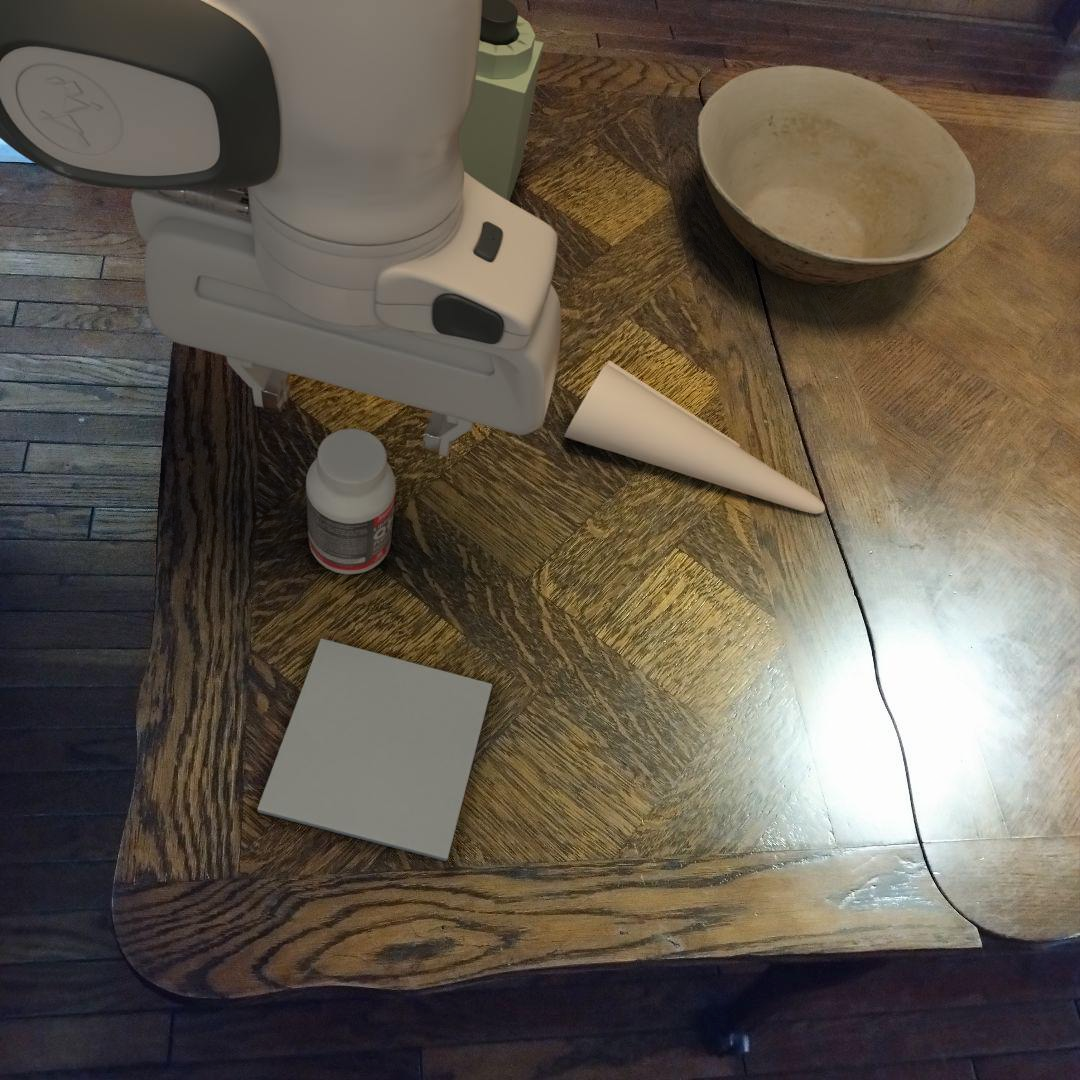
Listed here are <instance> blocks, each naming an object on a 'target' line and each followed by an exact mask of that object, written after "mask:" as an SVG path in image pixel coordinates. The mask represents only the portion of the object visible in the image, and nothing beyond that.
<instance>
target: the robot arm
mask: <svg viewBox="0 0 1080 1080" xmlns="http://www.w3.org/2000/svg"><path fill="white" fill-rule="evenodd" d="M481 14H482V0H0V139H1V140H2V141H3V142H4V143H5V144H7V146H9V147H10V148H11V149H13V150H14V151H16V152H17V153H18V154H20V155H21V156H23V157H24V158H25V159H27V160H29V161H31V162H32V163H34V164H36V165H37V166H39V167H41V168H43V169H45V170H47V171H49V172H51V173H53V174H55V175H57V176H62V177H63V178H67V179H69V180H71V181H75V182H78V183H83V184H87V185H91V186H97V187H101V188H110V189H123V190H132V192H131V198H130V202H131V203H130V204H131V209H132V213H133V218H134V222H135V226H136V229H137V231H138V233H139V235H140V236H141V238H142V239H143V240H144V241H145V242H146V246H145V250H144V268H143V269H144V289H145V300H146V306H147V307H146V308H147V314H148V318H149V321H150V322H151V324H152V325H153V326H154V327H155V329H156V330H158V331H159V333H160V334H162V335H163V336H164V337H165V338H166V339H167V340H169V341H171V342H173V343H176V344H180V345H183V346H186V347H190V348H195V349H199V350H202V351H206V352H209V353H213V354H216V355H220V356H224V357H226V362H227V364H228V366H230V368H231V369H232V370H233V371H234V372H235V373H236V375H238V376H239V377H240V378H241V379H242V381H243V382H245V384H246V385H247V386H248V387H249V388H251V390H252V398H253V404H254V406H255V407H259V408H264V409H268V410H272V411H276V412H279V413H282V412H283V410H284V409H285V403H286V402H287V401H289V397H290V394H291V389H292V384H291V383H290V381H291V375H295V376H298V377H303V378H306V379H309V380H313V381H317V382H322V383H325V384H329V385H331V386H336V387H340V388H344V389H347V390H351V391H355V392H359V393H361V394H366V395H370V396H373V397H376V398H380V399H383V400H388V401H391V402H395V403H399V404H401V405H402V404H403V405H406V406H410V407H414V408H417V409H421V410H425V411H429V412H430V415H429V417H428V423H427V424H426V426H425V429H424V432H423V437H422V442H423V443H422V447H421V450H422V451H424V452H428V453H432V454H435V455H437V456H442V457H446V458H448V457H449V455H450V453H451V449H452V447H453V443H454V441H455V440H457V439H458V438H460V437H462V436H463V435H464V434H466V433H467V432H470V431H471V430H473V427H474V424H478V425H480V426H483V427H484V426H485V427H489V428H492V429H496V430H499V431H503V432H505V433H510V434H513V435H516V436H517V435H518V436H525V435H528V434H531V433H533V432H535V431H537V430H539V429H541V428H542V427H543V425H544V422H545V418H546V415H547V411H548V408H549V406H550V401H551V397H552V392H553V389H554V384H555V379H556V375H557V371H558V370H557V369H558V365H559V359H560V358H559V357H560V351H561V350H560V349H561V338H562V308H561V302H560V298H559V296H558V293H557V291H556V289H555V287H554V286H553V284H552V282H553V278H554V273H555V266H556V259H557V253H558V252H557V251H558V240H559V239H558V234H557V232H556V231H555V229H554V228H553V227H552V226H551V225H549V224H548V223H547V222H545V221H544V220H542V219H541V218H539V217H537V216H536V215H534V214H532V213H531V212H528V211H527V210H525V209H523V208H522V207H520V206H518V205H516V204H515V203H513V202H511V201H508V200H506V199H504V198H503V197H501V196H499V195H498V194H496V193H495V192H493V191H492V190H490V189H489V188H487V187H485V186H484V185H483V184H481V183H480V182H478V181H477V180H475V179H474V178H472V177H471V176H470V175H468V174H467V173H466V172H464V164H463V158H462V154H461V150H460V145H459V134H460V129H461V126H462V124H463V122H464V120H465V118H466V116H467V114H468V111H469V109H470V106H471V103H472V99H473V95H474V89H475V81H476V71H477V62H478V53H479V41H480V30H481ZM238 189H247V192H245V191H241V190H238Z"/></svg>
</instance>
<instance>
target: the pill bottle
mask: <svg viewBox="0 0 1080 1080" xmlns="http://www.w3.org/2000/svg"><path fill="white" fill-rule="evenodd" d="M387 456H388V455H387V449H386V448H385V446H384V443H382V441H381V440H380V439H379V438H378V437H377V436H376V435H374V434H372V433H371V432H369V431H367V430H363V429H358V428H343V429H339V430H336V431H333V432H332V433H330V434H328V435H327V436H326V437H325V438H324V439H323V440H322V441H321V443H320V444H319V447H318V450H317V456H316V458H315V460H313V462H311V465H310V466H309V468H308V471H307V473H306V478H305V493H306V494H305V495H306V511H307V512H306V518H307V529H308V530H307V537H308V544H309V547H310V548H309V549H310V551H311V554H312V555H313V557H314V558H315V559H316V561H317V562H318V563H319V564H320V565H322V566H323V567H324V568H325V569H327V570H330V571H332V572H334V573H337V574H343V575H358V574H362V573H366V572H369V571H370V570H373V569H374V568H375V567H377V566H378V565H379V564H380V563H382V561H384V559H385V558H386V557H387V555H388V553H389V550H390V548H391V541H392V535H393V534H392V532H393V524H394V523H393V521H394V512H395V511H394V510H395V497H396V491H397V485H396V478H395V474H394V472H393V469H392V467H391V466H390V464H389V463H388V459H387V458H388V457H387Z"/></svg>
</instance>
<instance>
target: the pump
mask: <svg viewBox="0 0 1080 1080" xmlns="http://www.w3.org/2000/svg"><path fill="white" fill-rule="evenodd" d="M518 15H519V10H518V8H517V6H516V5H515V4H514V3H513V2H511V1H509V0H482V14H481V30H480V41H482V42H485V43H489V44H492V45H509V44H511V43H513V41H514V39H515V33H516V27H517V20H518Z"/></svg>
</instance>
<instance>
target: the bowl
mask: <svg viewBox="0 0 1080 1080" xmlns="http://www.w3.org/2000/svg"><path fill="white" fill-rule="evenodd" d="M695 130H696V131H695V135H696V136H695V140H696V151H697V152H696V153H697V157H698V163H699V167H700V170H701V173H702V176H703V179H704V182H705V185H706V188H707V191H708V193H709V195H710V198H711V199H712V202H713V204H714V207H715V209H716V210H717V213H718V214H719V216H720V218H721V219H722V221H723V223H724V224H725V225H726V227H727V228H728V230H729V232H730V233H731V234H732V235H733V236H734V237H735V239H736V241H738V242H739V244H740V245H741V246H742V248H744V250H745V251H746V252H747V253H748V254H749V255H750V256H751V257H752V258H753V259H754V260H756V261H757V263H758V262H759V263H760V264H761V266H764V267H765V268H766V269H768V270H769V271H771V272H773V273H774V274H776V275H779V276H780V277H782V278H784V279H787V280H789V281H793V282H797V283H800V284H803V285H808V286H841V285H851V284H858V283H861V282H864V281H867V280H869V279H872V280H874V279H878V278H881V277H883V276H887V275H890V274H892V273H893V274H894V273H896V272H899V271H902V270H905V269H908V268H910V267H914V266H915V265H918V264H921V263H923V262H925V261H927V260H929V259H931V258H933V257H935V256H936V255H938V254H941V252H943V251H944V250H946V249H947V248H948V247H949V246H950V245H952V244H953V243H954V242H955V241H956V240H957V239H958V238H959V237H960V236H961V235H962V233H963V232H964V231H965V230H966V229H967V226H968V224H969V223H970V219H971V217H972V215H973V213H974V210H975V209H974V208H975V204H976V199H977V196H976V181H975V171H974V170H973V167H972V165H971V163H970V161H969V159H968V158H967V156H966V154H965V152H964V151H963V149H962V148H961V146H960V145H959V143H958V142H957V140H956V139H954V136H952V135H951V133H949V132H948V131H947V130H946V129H945V127H943V126H942V125H941V124H940V123H939V122H938V121H936V120H935V119H934V118H933V117H931V116H930V115H929V114H927V112H925V111H924V110H922V109H921V108H920V107H919V106H916V105H915V104H914V103H911V102H910V101H909V100H907V99H905V98H904V97H902V96H900V95H898V94H896V93H894V92H893V91H892V90H890V89H889V88H886V87H884V86H883V85H881V84H878V83H877V82H874V81H871V80H869V79H866V78H863V77H860V76H858V75H854V74H852V73H849V72H844V71H840V70H835V69H832V68H828V67H827V68H826V67H820V66H810V65H809V66H808V65H800V64H799V65H798V64H797V65H796V64H793V65H778V66H769V67H763V68H762V67H761V68H756V69H753V70H750V71H747V72H744V73H742V74H740V75H738V76H736V77H734V78H732V79H731V80H729V81H727V82H725V84H723V85H722V86H720V88H719V89H717V90H715V92H713V94H711V96H709V98H708V99H707V100H706V103H705V104H704V106H703V107H702V109H701V110H700V111H699V115H698V119H697V124H696V129H695Z"/></svg>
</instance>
